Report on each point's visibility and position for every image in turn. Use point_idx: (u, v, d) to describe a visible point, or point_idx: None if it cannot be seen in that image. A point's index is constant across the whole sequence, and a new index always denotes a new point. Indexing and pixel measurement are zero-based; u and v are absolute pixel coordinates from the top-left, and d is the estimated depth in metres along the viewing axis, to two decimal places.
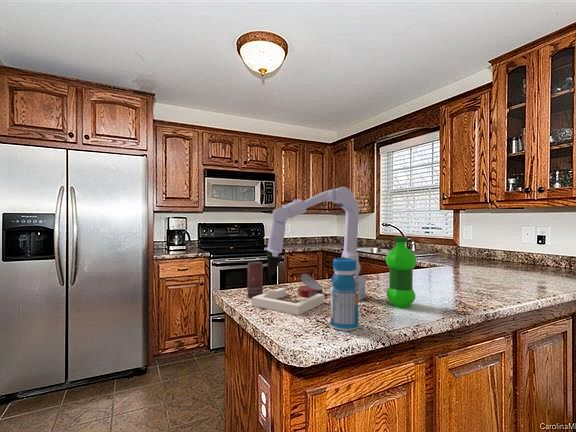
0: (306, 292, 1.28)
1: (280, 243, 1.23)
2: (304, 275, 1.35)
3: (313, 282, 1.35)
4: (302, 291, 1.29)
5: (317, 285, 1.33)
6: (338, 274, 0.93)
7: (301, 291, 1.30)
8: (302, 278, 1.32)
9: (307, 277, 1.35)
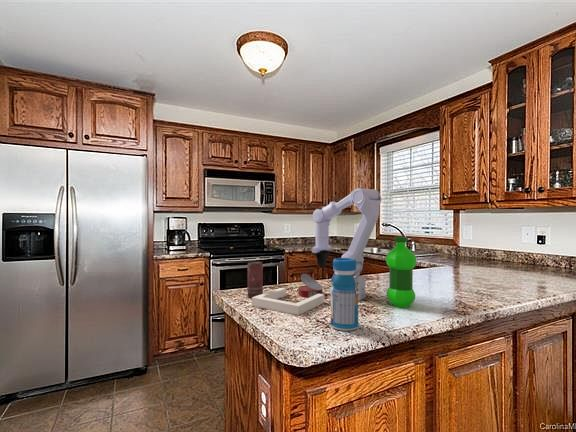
0: (306, 292, 1.28)
1: (323, 241, 1.38)
2: (304, 275, 1.35)
3: (313, 282, 1.35)
4: (302, 291, 1.29)
5: (317, 285, 1.33)
6: (338, 274, 0.93)
7: (301, 291, 1.30)
8: (302, 278, 1.32)
9: (307, 277, 1.35)
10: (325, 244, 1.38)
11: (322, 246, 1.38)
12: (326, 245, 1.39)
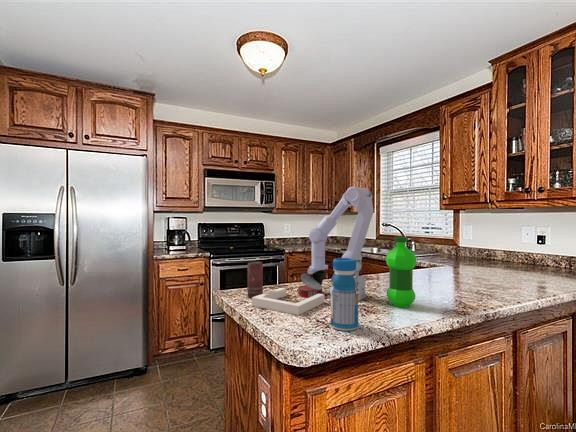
0: (306, 292, 1.28)
1: (319, 261, 1.35)
2: (304, 275, 1.35)
3: (313, 282, 1.34)
4: (302, 291, 1.29)
5: (317, 285, 1.33)
6: (338, 274, 0.93)
7: (301, 291, 1.30)
8: (302, 278, 1.32)
9: (306, 277, 1.35)
10: (321, 264, 1.35)
11: (318, 266, 1.35)
12: (322, 265, 1.36)
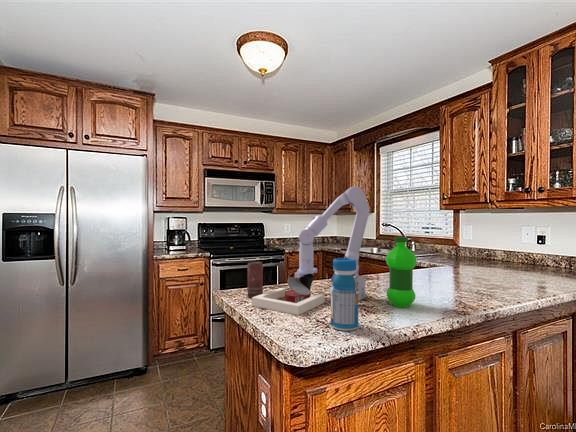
0: (293, 297, 1.20)
1: (307, 264, 1.27)
2: (291, 279, 1.26)
3: (301, 286, 1.26)
4: (288, 296, 1.21)
5: (304, 289, 1.25)
6: (338, 274, 0.93)
7: (287, 296, 1.21)
8: (288, 282, 1.23)
9: (293, 281, 1.26)
10: (309, 268, 1.27)
11: (306, 270, 1.27)
12: (310, 269, 1.28)
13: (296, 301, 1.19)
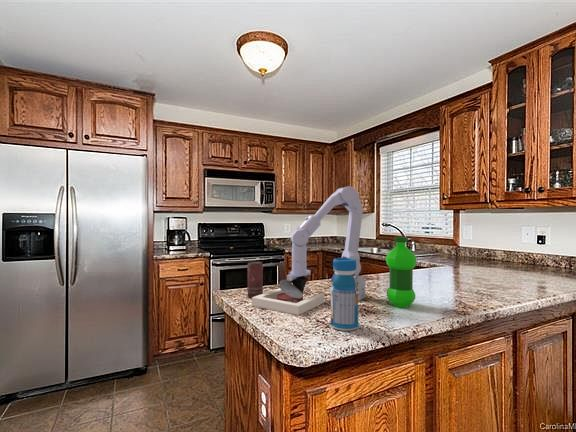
0: None
1: (299, 266, 1.22)
2: (283, 281, 1.21)
3: (293, 289, 1.21)
4: (280, 299, 1.16)
5: (297, 292, 1.20)
6: (338, 274, 0.93)
7: (279, 299, 1.16)
8: (280, 285, 1.19)
9: (286, 284, 1.21)
10: (302, 270, 1.23)
11: (299, 272, 1.22)
12: (303, 271, 1.23)
13: None
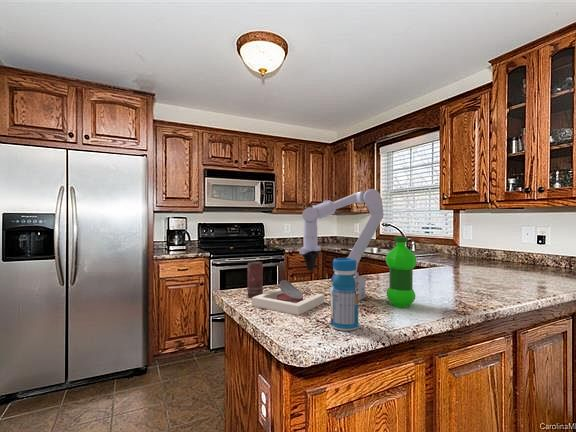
0: None
1: (311, 241, 1.29)
2: (283, 282, 1.21)
3: (293, 289, 1.21)
4: None
5: (297, 293, 1.20)
6: (338, 274, 0.93)
7: None
8: (280, 285, 1.19)
9: (286, 284, 1.21)
10: (314, 245, 1.30)
11: (310, 247, 1.29)
12: (315, 246, 1.30)
13: None
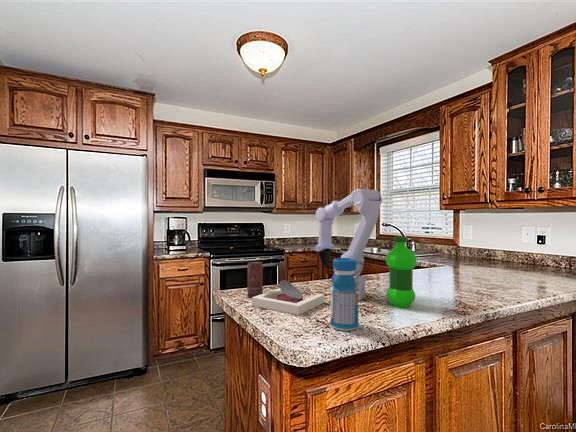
0: None
1: (326, 239, 1.38)
2: (283, 282, 1.21)
3: (293, 289, 1.21)
4: None
5: (297, 293, 1.20)
6: (338, 274, 0.93)
7: None
8: (280, 285, 1.19)
9: (286, 284, 1.21)
10: (328, 242, 1.39)
11: (325, 244, 1.38)
12: (329, 243, 1.39)
13: None
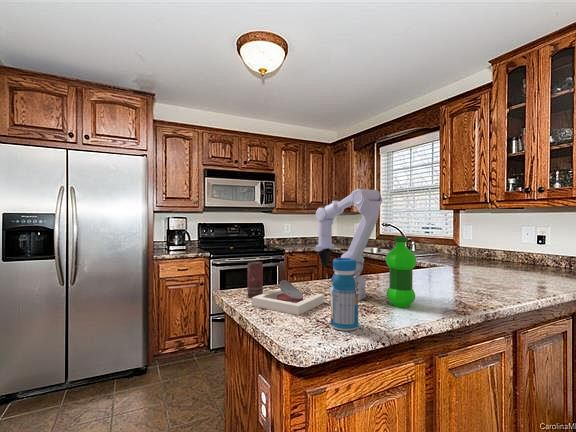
0: None
1: (326, 239, 1.38)
2: (283, 282, 1.21)
3: (293, 289, 1.21)
4: None
5: (297, 293, 1.20)
6: (338, 274, 0.93)
7: None
8: (280, 285, 1.19)
9: (286, 284, 1.21)
10: (328, 242, 1.39)
11: (325, 244, 1.38)
12: (329, 243, 1.39)
13: None
